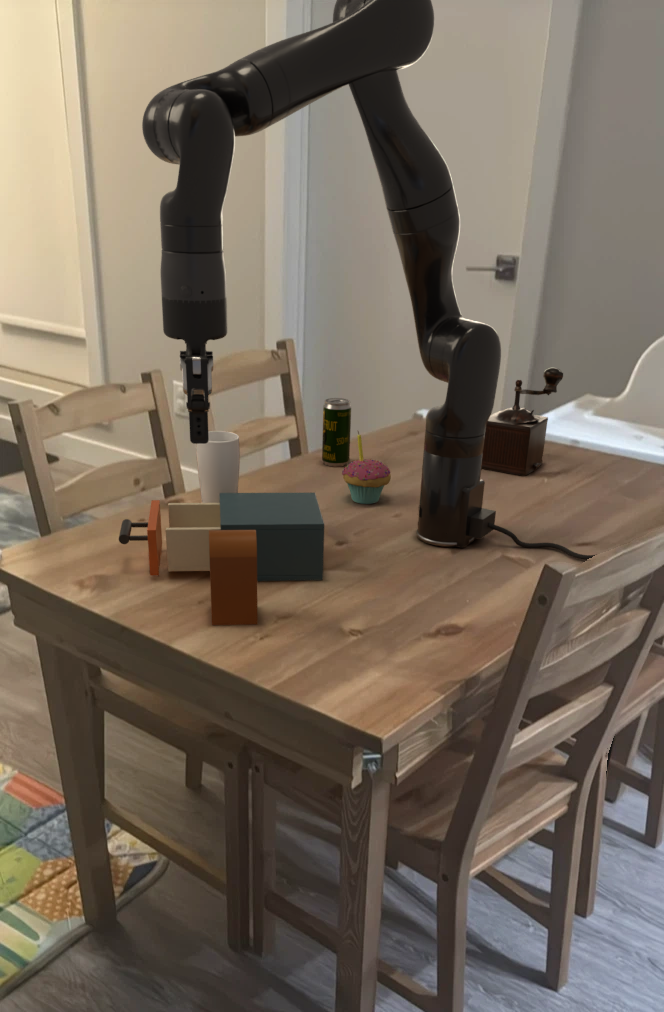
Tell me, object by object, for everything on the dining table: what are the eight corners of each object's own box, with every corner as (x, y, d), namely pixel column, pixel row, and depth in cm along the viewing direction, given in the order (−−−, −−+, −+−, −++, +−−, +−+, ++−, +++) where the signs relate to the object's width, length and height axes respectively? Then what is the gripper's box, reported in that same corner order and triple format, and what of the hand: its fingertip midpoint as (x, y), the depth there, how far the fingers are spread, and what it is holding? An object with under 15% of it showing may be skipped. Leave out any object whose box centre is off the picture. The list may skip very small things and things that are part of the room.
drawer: (119, 575, 141) (115, 530, 137) (125, 543, 152) (122, 500, 148) (244, 574, 143) (244, 529, 139) (242, 542, 154) (241, 499, 150)
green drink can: (333, 457, 198) (335, 396, 192) (354, 463, 195) (357, 401, 189) (316, 463, 194) (317, 400, 188) (337, 468, 191) (339, 405, 185)
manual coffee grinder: (528, 477, 190) (541, 380, 181) (475, 467, 195) (485, 372, 186) (554, 458, 202) (567, 367, 193) (503, 449, 207) (514, 360, 197)
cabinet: (222, 581, 142) (220, 524, 138) (221, 546, 154) (219, 492, 150) (322, 580, 144) (324, 523, 139) (314, 545, 156) (315, 492, 151)
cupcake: (334, 503, 174) (336, 434, 168) (351, 489, 181) (354, 423, 174) (380, 510, 171) (384, 441, 165) (396, 496, 178) (400, 429, 172)
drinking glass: (234, 537, 158) (232, 443, 150) (193, 533, 159) (189, 439, 151) (245, 523, 163) (244, 432, 156) (206, 519, 164) (203, 428, 157)
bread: (256, 608, 135) (255, 524, 128) (257, 624, 130) (256, 537, 124) (211, 609, 134) (208, 524, 128) (211, 625, 130) (208, 538, 124)
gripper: (228, 302, 109) (231, 449, 117) (224, 285, 121) (227, 419, 129) (159, 301, 108) (167, 449, 116) (162, 284, 120) (169, 419, 128)
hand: (199, 433), depth 123 cm, fingers open, 8 cm apart
